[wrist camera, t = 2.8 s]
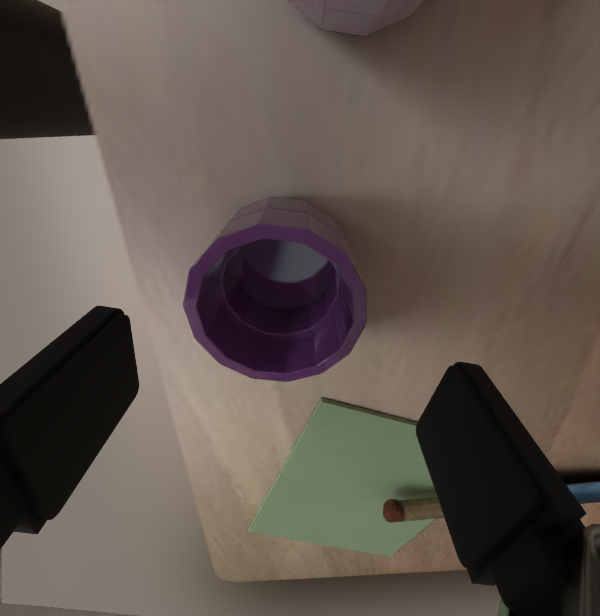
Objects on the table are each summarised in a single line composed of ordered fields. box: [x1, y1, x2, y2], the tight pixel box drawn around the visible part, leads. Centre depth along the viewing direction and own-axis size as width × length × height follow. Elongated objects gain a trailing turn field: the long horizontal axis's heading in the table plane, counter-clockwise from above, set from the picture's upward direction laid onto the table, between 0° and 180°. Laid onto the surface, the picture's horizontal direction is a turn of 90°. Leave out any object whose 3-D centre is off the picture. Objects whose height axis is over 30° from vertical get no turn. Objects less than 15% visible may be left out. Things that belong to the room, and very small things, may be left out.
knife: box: [383, 481, 600, 523], centre depth 24 cm, size 24×3×5 cm
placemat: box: [248, 398, 437, 557], centre depth 27 cm, size 16×20×1 cm
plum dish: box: [183, 197, 367, 382], centre depth 14 cm, size 7×7×5 cm
